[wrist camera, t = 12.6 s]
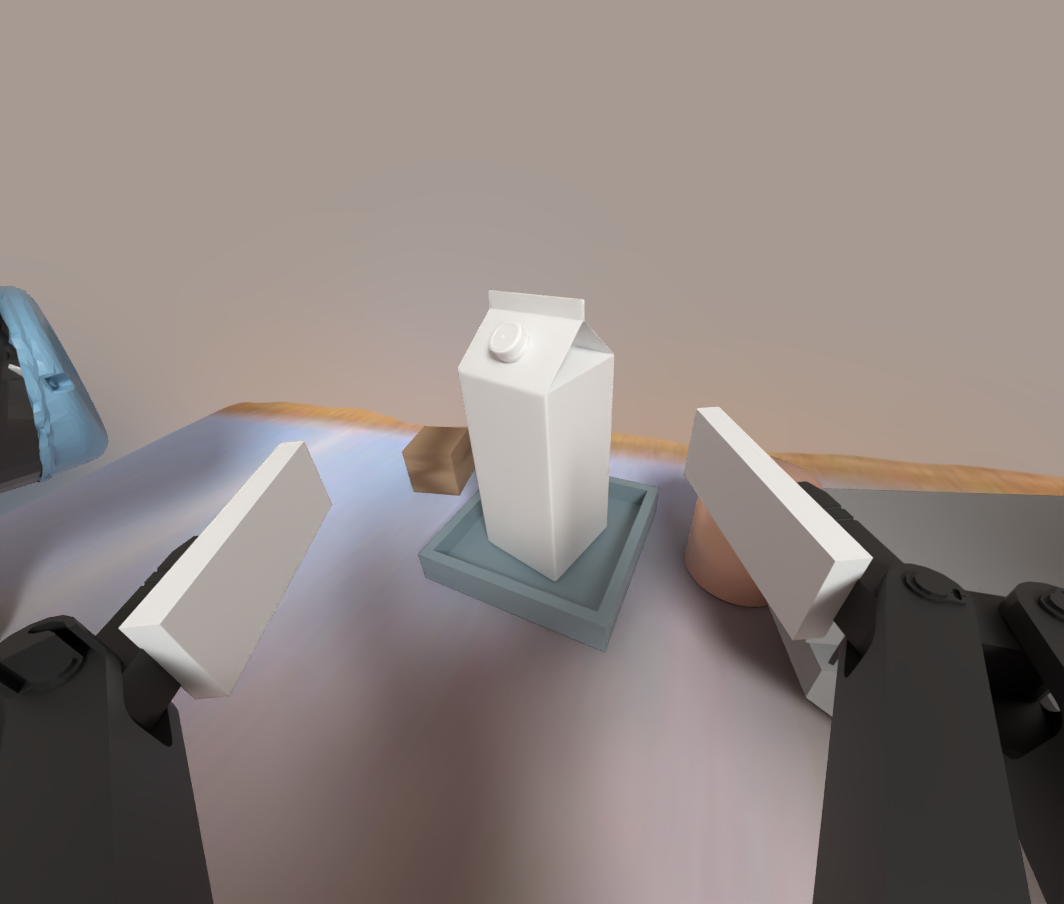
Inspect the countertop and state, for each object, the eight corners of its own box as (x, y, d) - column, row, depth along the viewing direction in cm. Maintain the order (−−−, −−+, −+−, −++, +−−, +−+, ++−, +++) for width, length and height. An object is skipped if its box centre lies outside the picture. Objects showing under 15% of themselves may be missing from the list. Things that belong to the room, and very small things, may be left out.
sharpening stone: (749, 748, 20) (817, 617, 14) (713, 613, 27) (750, 486, 21) (1397, 830, 16) (1852, 698, 11) (1170, 650, 23) (1373, 505, 17)
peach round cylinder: (671, 576, 29) (689, 491, 25) (699, 522, 34) (719, 442, 30) (777, 625, 26) (820, 535, 21) (793, 556, 30) (830, 472, 26)
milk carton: (541, 497, 37) (525, 280, 27) (607, 528, 33) (618, 287, 23) (487, 542, 33) (444, 302, 23) (555, 584, 29) (540, 316, 18)
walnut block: (414, 492, 41) (401, 451, 38) (433, 465, 45) (424, 426, 42) (459, 496, 40) (450, 454, 37) (475, 467, 44) (468, 428, 41)
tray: (425, 577, 31) (418, 554, 30) (515, 475, 42) (512, 454, 40) (604, 652, 25) (605, 627, 24) (656, 510, 36) (659, 487, 34)
